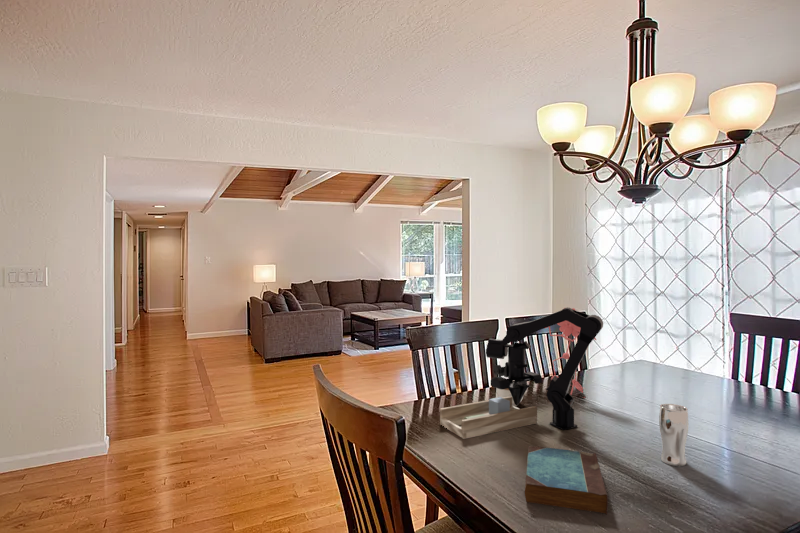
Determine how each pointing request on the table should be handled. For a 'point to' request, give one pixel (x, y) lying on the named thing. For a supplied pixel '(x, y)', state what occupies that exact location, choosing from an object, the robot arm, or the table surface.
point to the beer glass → (673, 433)
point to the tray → (484, 418)
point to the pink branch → (567, 330)
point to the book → (565, 479)
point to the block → (498, 405)
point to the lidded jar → (505, 394)
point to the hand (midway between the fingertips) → (516, 404)
